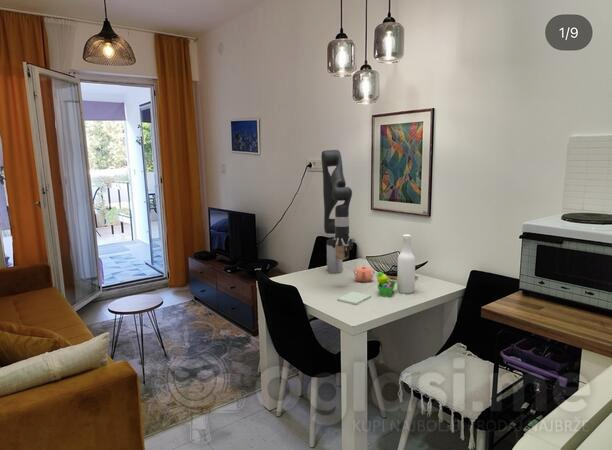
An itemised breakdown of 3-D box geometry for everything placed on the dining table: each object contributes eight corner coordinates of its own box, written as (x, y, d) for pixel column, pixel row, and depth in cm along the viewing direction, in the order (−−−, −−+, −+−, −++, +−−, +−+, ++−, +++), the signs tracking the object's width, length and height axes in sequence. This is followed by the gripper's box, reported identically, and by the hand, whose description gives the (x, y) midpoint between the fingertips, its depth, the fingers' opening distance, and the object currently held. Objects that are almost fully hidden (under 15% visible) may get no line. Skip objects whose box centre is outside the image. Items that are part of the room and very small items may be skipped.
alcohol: (395, 293, 212) (396, 235, 207) (398, 288, 220) (399, 233, 215) (413, 294, 208) (414, 236, 204) (415, 289, 217) (416, 233, 212)
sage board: (352, 293, 213) (352, 291, 213) (371, 297, 206) (371, 295, 206) (337, 300, 202) (337, 298, 202) (356, 305, 195) (356, 303, 195)
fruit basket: (392, 297, 205) (392, 275, 203) (374, 296, 208) (374, 274, 206) (395, 290, 215) (395, 270, 214) (378, 289, 219) (379, 268, 217)
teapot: (374, 277, 241) (374, 263, 240) (374, 284, 227) (374, 270, 225) (353, 276, 243) (353, 263, 242) (352, 284, 228) (352, 269, 227)
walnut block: (341, 256, 222) (341, 244, 221) (348, 258, 219) (348, 245, 218) (335, 258, 218) (335, 245, 217) (343, 259, 215) (343, 246, 214)
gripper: (357, 225, 214) (357, 257, 217) (335, 223, 224) (335, 253, 226) (349, 227, 209) (349, 259, 211) (326, 224, 218) (327, 256, 220)
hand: (342, 256), depth 219 cm, fingers closed on walnut block, 5 cm apart
